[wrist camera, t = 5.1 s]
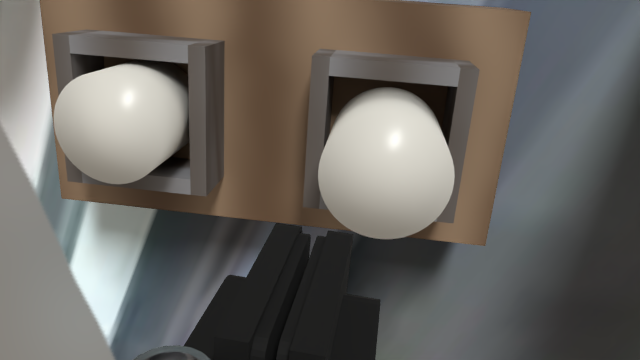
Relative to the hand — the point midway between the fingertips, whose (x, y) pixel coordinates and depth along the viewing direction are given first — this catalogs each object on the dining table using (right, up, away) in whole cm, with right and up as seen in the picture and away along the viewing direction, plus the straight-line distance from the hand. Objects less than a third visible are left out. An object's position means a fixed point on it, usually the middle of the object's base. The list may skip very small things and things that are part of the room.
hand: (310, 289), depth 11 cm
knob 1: (-8, +6, +16) cm, 19 cm away
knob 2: (+3, +4, +13) cm, 14 cm away
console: (-2, +8, +21) cm, 23 cm away
